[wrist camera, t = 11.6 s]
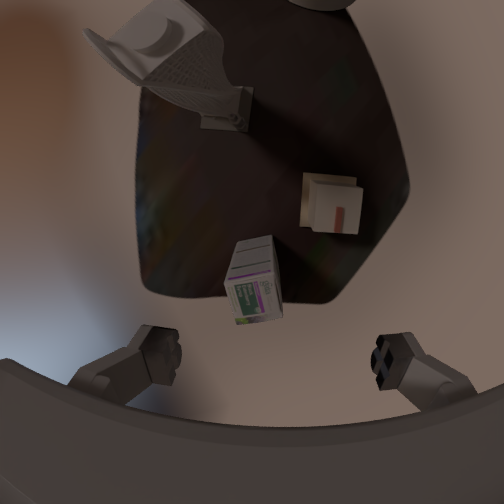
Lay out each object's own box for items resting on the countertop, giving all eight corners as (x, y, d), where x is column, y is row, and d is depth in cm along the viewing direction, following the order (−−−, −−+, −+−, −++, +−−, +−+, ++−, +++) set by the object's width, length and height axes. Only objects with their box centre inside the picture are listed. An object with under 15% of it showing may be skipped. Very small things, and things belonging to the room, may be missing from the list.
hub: (303, 172, 38) (307, 174, 33) (355, 177, 37) (366, 180, 33) (299, 225, 40) (303, 234, 36) (350, 228, 40) (359, 238, 35)
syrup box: (235, 241, 42) (219, 284, 28) (273, 233, 41) (274, 273, 28) (244, 274, 44) (233, 327, 30) (280, 267, 43) (284, 319, 29)
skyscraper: (191, 128, 37) (61, 99, 10) (198, 78, 34) (93, -10, 8) (247, 132, 36) (197, 84, 10) (254, 81, 34) (224, -36, 7)
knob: (310, 179, 37) (318, 184, 31) (349, 183, 37) (364, 189, 31) (307, 219, 39) (314, 232, 33) (345, 222, 39) (359, 235, 33)
